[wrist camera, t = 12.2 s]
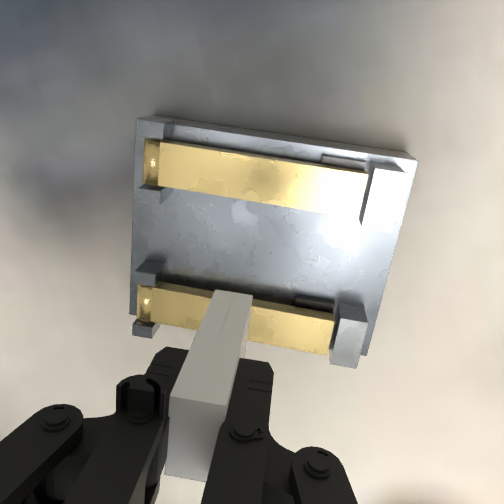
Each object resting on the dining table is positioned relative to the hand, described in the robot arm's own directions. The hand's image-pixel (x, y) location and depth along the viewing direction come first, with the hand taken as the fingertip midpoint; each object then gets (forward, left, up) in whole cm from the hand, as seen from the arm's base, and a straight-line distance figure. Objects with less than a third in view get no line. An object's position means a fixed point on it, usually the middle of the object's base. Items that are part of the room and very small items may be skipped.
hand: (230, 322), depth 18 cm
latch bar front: (-1, +3, -16) cm, 16 cm away
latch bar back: (-1, -8, -16) cm, 18 cm away
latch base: (0, -3, -21) cm, 21 cm away
